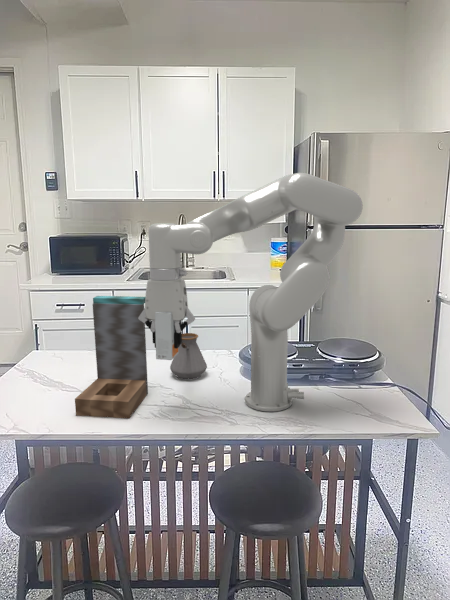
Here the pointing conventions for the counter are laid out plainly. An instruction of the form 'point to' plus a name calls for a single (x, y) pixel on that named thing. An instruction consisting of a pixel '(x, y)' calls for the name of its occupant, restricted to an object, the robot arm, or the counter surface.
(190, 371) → the coffee pot
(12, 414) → the counter surface
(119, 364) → the socket station
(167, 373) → the counter surface
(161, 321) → the skincare box
